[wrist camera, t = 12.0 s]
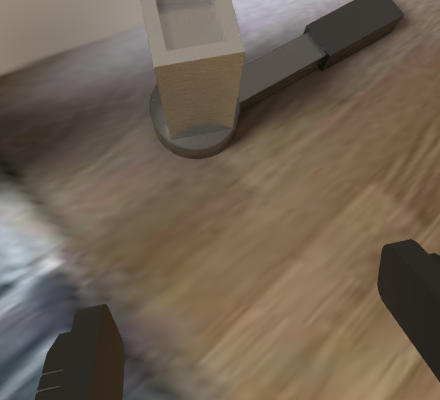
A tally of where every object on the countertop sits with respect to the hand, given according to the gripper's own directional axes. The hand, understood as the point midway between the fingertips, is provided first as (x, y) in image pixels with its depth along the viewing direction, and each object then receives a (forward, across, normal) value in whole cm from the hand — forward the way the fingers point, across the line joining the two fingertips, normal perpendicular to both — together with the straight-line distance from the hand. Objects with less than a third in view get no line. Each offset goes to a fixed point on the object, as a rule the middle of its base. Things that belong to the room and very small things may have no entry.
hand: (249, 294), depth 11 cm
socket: (+21, 0, +1) cm, 21 cm away
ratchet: (+25, -8, +1) cm, 26 cm away
